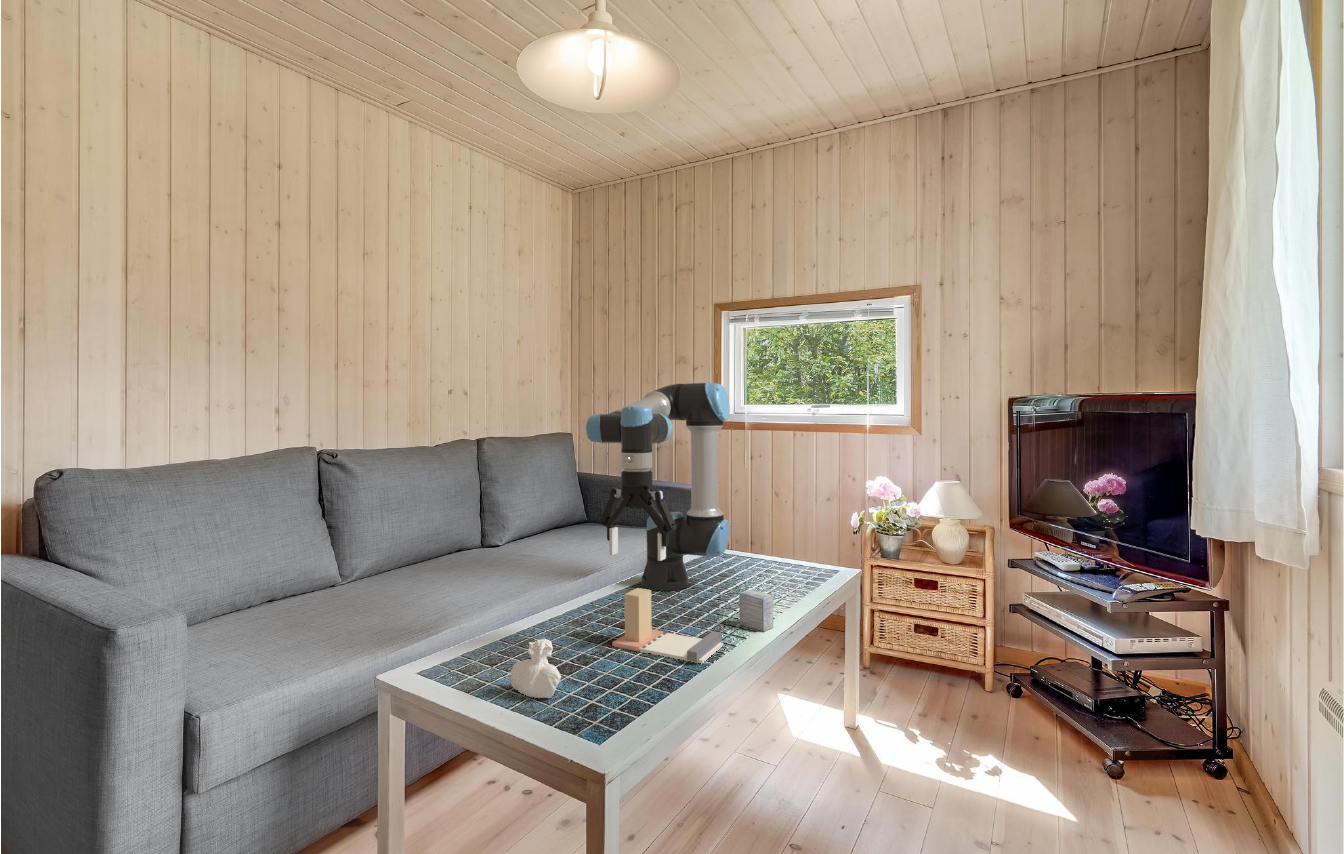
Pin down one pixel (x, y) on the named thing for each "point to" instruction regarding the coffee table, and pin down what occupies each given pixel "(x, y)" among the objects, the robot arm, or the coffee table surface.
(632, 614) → the stub
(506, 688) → the coffee table surface
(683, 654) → the cream flat slab
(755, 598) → the grey rectangular block
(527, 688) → the white tied sack
